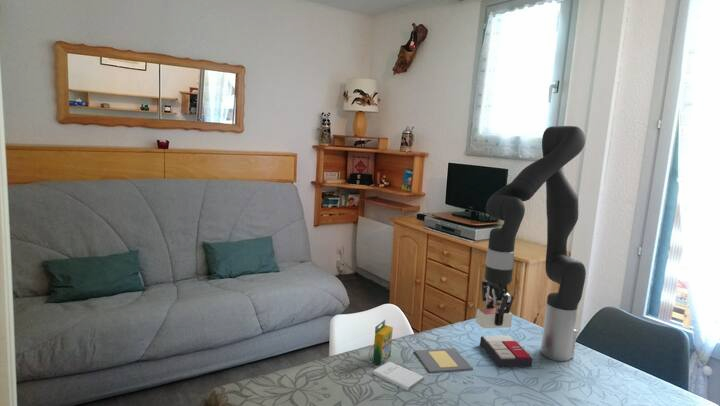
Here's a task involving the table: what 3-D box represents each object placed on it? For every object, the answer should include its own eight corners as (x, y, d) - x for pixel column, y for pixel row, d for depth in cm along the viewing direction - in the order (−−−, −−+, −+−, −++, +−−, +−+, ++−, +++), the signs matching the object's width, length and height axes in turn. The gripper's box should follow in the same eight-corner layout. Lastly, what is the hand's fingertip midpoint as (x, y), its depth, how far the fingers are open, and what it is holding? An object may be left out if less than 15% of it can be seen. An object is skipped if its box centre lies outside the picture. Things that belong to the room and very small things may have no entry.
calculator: (500, 357, 137) (480, 334, 152) (499, 370, 138) (479, 345, 152) (533, 357, 139) (510, 333, 153) (531, 369, 140) (509, 345, 154)
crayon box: (381, 365, 134) (383, 329, 133) (372, 363, 136) (374, 327, 134) (391, 356, 141) (393, 321, 139) (382, 353, 142) (384, 319, 140)
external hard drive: (407, 393, 122) (372, 375, 130) (424, 381, 128) (389, 365, 136) (408, 387, 122) (373, 370, 130) (424, 376, 128) (389, 360, 136)
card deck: (502, 320, 133) (503, 307, 133) (510, 326, 129) (512, 313, 129) (475, 321, 131) (476, 308, 131) (483, 328, 127) (484, 314, 126)
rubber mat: (454, 349, 148) (454, 347, 148) (472, 369, 135) (473, 367, 135) (414, 351, 144) (414, 350, 144) (429, 372, 132) (429, 370, 132)
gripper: (525, 272, 122) (519, 331, 124) (497, 257, 135) (492, 311, 138) (500, 272, 120) (494, 332, 122) (475, 258, 134) (470, 312, 136)
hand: (493, 321), depth 130 cm, fingers closed on card deck, 4 cm apart
